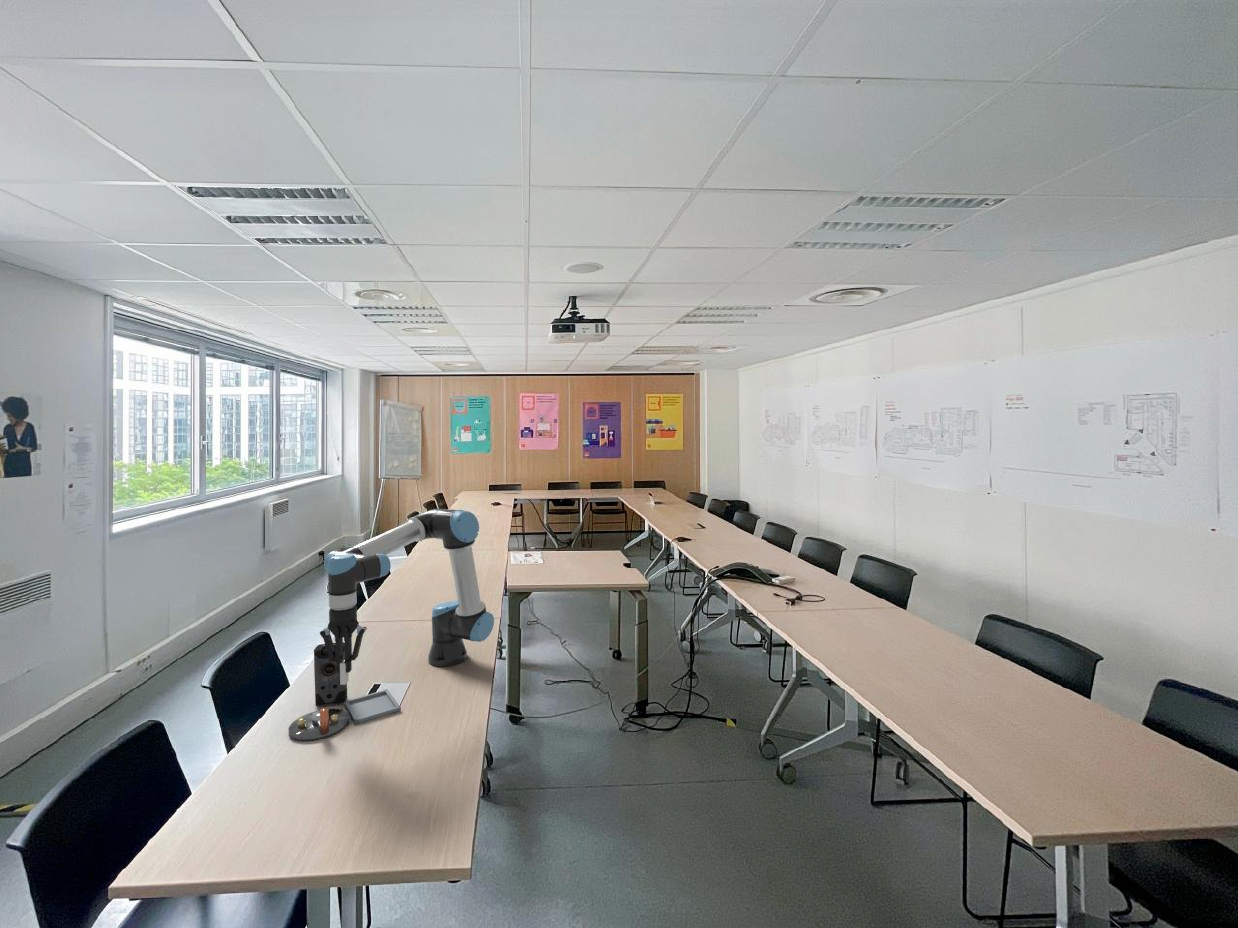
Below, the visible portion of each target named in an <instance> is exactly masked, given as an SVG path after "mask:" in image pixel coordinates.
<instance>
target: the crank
mask: <svg viewBox="0 0 1238 928" xmlns="http://www.w3.org/2000/svg"><path fill="white" fill-rule="evenodd" d="M329 709H330V708H328V707H321V708H320V709H319V710H320V711H319V710H316V711H317V712H315V711H314V712H315V713H313V714H312V724H313V725H318V726H319V728H320V734H326V733H328V732H329Z"/></svg>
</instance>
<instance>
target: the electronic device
mask: <svg viewBox="0 0 1238 928" xmlns="http://www.w3.org/2000/svg"><path fill="white" fill-rule="evenodd" d="M333 645H334V648H335V652H336V642H333ZM343 657H344V658H343V659H342V661H343V660H345V641H343ZM313 667H314V668H313V670H314V671H313V672H314V674H313V675H314V697H315V698H314V699H315V700H314V701H315V707H316V708H328V707H335V706H341V705H344V701H346V700H348V682H347V683H346V685H340V673H337V664H336V662H334V661H332V662H331V661H330V660H329V656H328V653H327V649H326V646H325V643H320V644H318V645H316V646H315V647H314V649H313Z"/></svg>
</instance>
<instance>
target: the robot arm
mask: <svg viewBox="0 0 1238 928" xmlns="http://www.w3.org/2000/svg"><path fill="white" fill-rule="evenodd" d="M479 532H480V523H479V520H478V518H477V516H476V515H475V514H474V513H472V512H471V511H467V510H464V509H451V508H450V509H449V508H448V509H447V508H434V509H430V510H429V509H428V510H427V511H424V512H422V513H418V514H416V515H414V516H412V517H410V518H408V519H407V520H406V522H405V523H403V524H401V525H399V526H397V527H393V528H392V529H389V530H387V531H385V532H384V533H381V534H379V535H376V536H374V537H371V538H370V539H367V540H366V541H363V542H361V543H358V544H356V545H354V546H351V547H349V548H348V549H345V550H333V551H330V552H329V553H328V554H327V555H326V556H325V557H324V561H323V567H324V569H325V570H326V571H327V581H328V582H327V583H328V585H327V586H328V607H329V610H328V619H329V620H328V621H329V622H328V623H327V624H328V625H327V626H326V627H325V628H323V629H321V631H319V635H320V636H321V638H322V639H323V642H324V644H325V646H326V649H327V653H328V656H329V660H330V661H331V662H332V661H334V662H336V664H337V673H340V685H346V683H347V684H348V682H349V680H350V679H349V673H350V672H351V671H352V670H353V668H352V667H353V666H352V665H353V663H352V661H356V660H357V658H358V657H359V653H360V649H361V646H362V640H363V636H364V634H365V633H366V631H367V626H362V625H361V624H359V621H358V610H357V609H358V606H357V601H358V600H357V585H358V584H360V583H363V582H368V581H371V580H376V579H380V578H382V577H385V576H386V575H388V574H389V572H390V571H391V559H390V558H389V556H388V555H389V554H392V553H394V552H395V551H397V550H399V549H401V548H404V547H406V546H408V545H409V544H411V543H414V542H418V543H419V542H422V541H424V540H428V539H436V540H437V539H438V540H442V544H443V548H444V549H445V550H446V551H448V554H449V559H450V564H451V571H452V577H453V583H454V588H455V594H456V599H457V600H456V601H453V600H452V601H447V602H442V603H439V604H436V605H434V606H433V608H432V610H431V614H432V615H431V627H432V628H431V630H432V633H431V634H432V643H431V646H430V649H429V653H428V655H427V656H428V659H427V661H428V663H429V664H430V665H431V666H434V667H450V666H455V665H459V664H461V663H462V662H464V661H465V660H466V659H467V657H468V654H467V653H468V652H467V648H466V646H465V643H464V640H467V641H470V642H479V643H481V642H483V641H484V642H485V640H487V638H488V637H490V635H491V633H492V631H493V629H494V626H495V617H494V614H493V613H491V612H490V611H487V607H486V603H485V602H484V601H482V600H481V594H480V588H479V582H478V577H477V570H476V565H475V558H474V552H473V548H472V547H473V545H474V544H475V541H476V539H477V537H478V535H479ZM355 631H356V634H357V635H356V638H355V642H354V647H352V646H353V644H352V643H353V641H352V640H353V639H352V638H353V634H354V632H355ZM331 634H332V635H333V636H334V642H333V638H332V635H331ZM343 642H344V643H345V660H343V661H342V659H343V658H344V657H343ZM333 643H336V652H335V648H334V645H333Z"/></svg>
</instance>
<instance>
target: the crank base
mask: <svg viewBox="0 0 1238 928" xmlns="http://www.w3.org/2000/svg"><path fill="white" fill-rule="evenodd" d="M328 709H329V732H328V733H326V734H320V728H319V726H318V725H313V724H312V714H313V713H315V712H317V711H320V709H319V710H315V711H312V712H310V713H306V714H304V715H302V716H300V717H298V718H297V719H295V720H294V721H293V722H292V723H291V724H290V725H289V727H288V736H289V738H290V739H291V740H292V741H295V742H299V743H300V742H301V743H310V742H317V741H321V740H325V739H329V738H331V737H333V736H335V735H338V734H339V733H341V732H342V731H344V730H345V729H346V728H348V726H349V725H350V723H351V717H350V714H349V713H348V711H347V710H346V709H342V708H328Z"/></svg>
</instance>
